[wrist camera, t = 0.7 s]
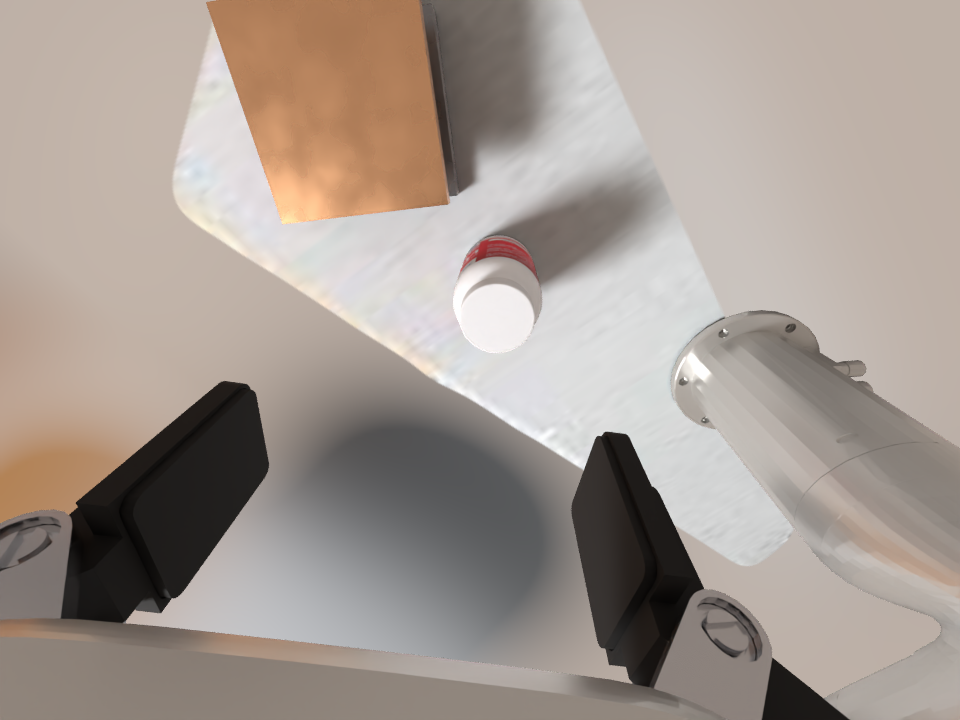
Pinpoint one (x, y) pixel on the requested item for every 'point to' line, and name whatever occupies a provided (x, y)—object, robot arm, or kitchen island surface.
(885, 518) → the robot arm
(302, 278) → the kitchen island surface
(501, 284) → the pill bottle
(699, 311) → the kitchen island surface
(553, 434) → the kitchen island surface
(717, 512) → the kitchen island surface
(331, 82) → the stand
